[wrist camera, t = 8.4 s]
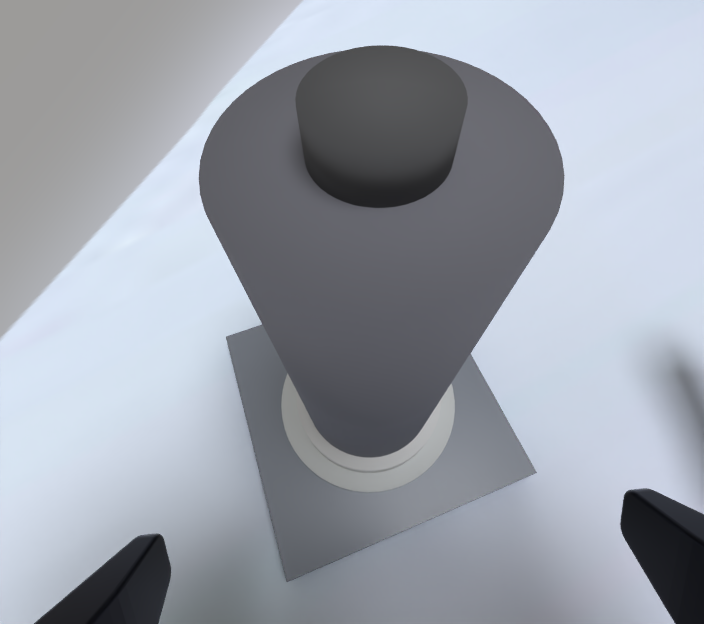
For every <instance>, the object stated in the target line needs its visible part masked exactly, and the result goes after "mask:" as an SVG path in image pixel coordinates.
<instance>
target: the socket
mask: <svg viewBox="0 0 704 624" xmlns="http://www.w3.org/2000/svg"><path fill="white" fill-rule="evenodd" d="M226 339H227V343H228V347H229V351H230V355H231V359H232V363H233V367H234V372H235V376H236V380H237V384H238V388H239V392H240V396H241V400H242V404H243V408H244V412H245V416H246V420H247V424H248V428H249V432H250V436H251V440H252V444H253V448H254V452H255V456H256V460H257V464H258V468H259V472H260V476H261V480H262V484H263V488H264V492H265V496H266V500H267V504H268V508H269V512H270V516H271V520H272V524H273V528H274V532H275V536H276V540H277V544H278V548H279V552H280V556H281V560H282V564H283V568H284V572H285V576H286V580H287V582H289V581H291V580H293V579H295V578H298V577H300V576H302V575H305V574H307V573H309V572H311V571H314V570H316V569H318V568H321V567H323V566H325V565H327V564H330V563H332V562H334V561H336V560H339V559H341V558H343V557H346V556H348V555H350V554H352V553H355V552H357V551H359V550H362V549H364V548H366V547H368V546H371V545H373V544H375V543H378V542H380V541H382V540H384V539H387V538H389V537H391V536H393V535H396V534H398V533H400V532H403V531H405V530H407V529H409V528H412V527H414V526H416V525H419V524H421V523H423V522H425V521H428V520H430V519H432V518H435V517H437V516H439V515H441V514H444V513H446V512H448V511H450V510H453V509H455V508H457V507H460V506H462V505H464V504H466V503H469V502H471V501H473V500H476V499H478V498H480V497H482V496H485V495H487V494H489V493H492V492H494V491H496V490H498V489H501V488H503V487H505V486H507V485H510V484H512V483H514V482H517V481H519V480H521V479H523V478H526V477H528V476H530V475H533V474H535V473H537V472H536V471H535V469H534V467H533V465H532V463H531V462H530V460H529V458H528V456H527V454H526V453H525V451H524V449H523V447H522V445H521V444H520V442H519V440H518V438H517V436H516V435H515V433H514V431H513V429H512V427H511V426H510V424H509V422H508V420H507V418H506V417H505V415H504V413H503V411H502V409H501V408H500V406H499V404H498V402H497V400H496V399H495V397H494V395H493V393H492V391H491V390H490V388H489V386H488V384H487V382H486V381H485V379H484V377H483V375H482V373H481V372H480V370H479V368H478V366H477V364H476V363H475V361H474V359H473V357H472V355H471V354H470V355H469V356H468V358H467V359H466V361H465V363H464V364H463V366H462V367H461V369H460V370H459V372H458V373H457V375H456V377H455V378H454V380H453V381H452V383H451V384H450V386H449V387H448V389H447V391H446V392H445V394H444V395H443V397H442V398H441V409H440V414H439V418H438V421H437V424H436V427H435V429H434V431H433V433H432V435H431V436H430V438H429V439H428V441H427V442H426V443H425V445H424V446H423V447H422V448H421V449H420V450H419V452H418V453H417V454H416V455H415V456H413V457H412V458H411V459H410V460H409V461H407V462H405V463H404V464H402V465H400V466H398V467H396V468H394V469H391V470H387V471H384V472H377V473H361V472H355V471H351V470H348V469H345V468H343V467H340V466H338V465H336V464H335V463H333V462H331V461H330V460H328V459H327V458H326V457H325V456H324V455H323V454H321V453H320V452H319V450H318V449H317V448H316V447H315V446H314V444H313V443H312V441H311V440H310V438H309V437H308V435H307V434H306V432H305V430H304V428H303V426H302V424H301V420H300V417H299V414H298V408H297V390H296V388H295V387H294V385H293V383H292V381H291V379H290V377H289V375H288V373H287V371H286V369H285V367H284V365H283V363H282V361H281V359H280V357H279V355H278V353H277V351H276V350H275V348H274V346H273V344H272V342H271V340H270V338H269V336H268V334H267V332H266V330H265V328H264V326H263V325H260V326H257V327H254V328H251V329H248V330H245V331H242V332H239V333H236V334H233V335H230V336H227V337H226Z"/></svg>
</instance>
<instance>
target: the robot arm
mask: <svg viewBox="0 0 704 624" xmlns="http://www.w3.org/2000/svg"><path fill="white" fill-rule="evenodd" d="M620 525H621V531H622V534H623V536H624V538H625V540H626V542H627V543H628V545H629V547H630V549H631V550H632V552H633V554H634V555H635V557H636V559H637V560H638V562H639V564H640V565H641V567H642V569H643V570H644V572H645V574H646V576H647V577H648V579H649V581H650V582H651V584H652V586H653V587H654V589H655V591H656V592H657V594H658V596H659V597H660V599H661V601H662V602H663V604H664V606H665V608H666V609H667V611H668V612H669V614H670V616H671V617H672V619H673V620H674V622H675V624H704V514H702V513H700V512H697V511H695V510H693V509H691V508H689V507H687V506H685V505H683V504H681V503H679V502H677V501H675V500H672V499H670V498H668V497H666V496H664V495H662V494H660V493H658V492H656V491H654V490H651V489H634V490H628V491H627V492H626V493H625V495H624V500H623V507H622V515H621V523H620ZM170 577H171V566H170V562H169V558H168V554H167V550H166V546H165V542H164V539H163V537H162V535H160V534H148V535H140V536H138V537H136V538H135V539H133V540H132V541H131V542H130V543H129V544H128V545H126V546H125V547H124V548H123V549H122V550H120V551H119V552H118V553H117V554H116V555H115V556H113V557H112V558H111V559H110V560H109V561H107V562H106V563H105V564H104V565H103V566H102V567H100V568H99V569H98V570H97V571H96V572H94V573H93V574H92V575H91V576H90V577H89V578H87V579H86V580H85V581H84V582H83V583H81V584H80V585H79V586H78V587H77V588H76V589H74V590H73V591H72V592H71V593H70V594H68V595H67V596H66V597H65V598H64V599H63V600H61V601H60V602H59V603H58V604H57V605H55V606H54V607H53V608H52V609H51V610H50V611H48V612H47V613H46V614H45V615H44V616H42V617H41V618H40V619H39V620H38V621H37V622H35V623H34V624H158V622H159V619H160V615H161V611H162V608H163V604H164V600H165V597H166V593H167V589H168V586H169V582H170Z"/></svg>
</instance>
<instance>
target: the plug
mask: <svg viewBox="0 0 704 624" xmlns="http://www.w3.org/2000/svg"><path fill="white" fill-rule="evenodd" d="M199 185H200V195H201V199H202V202H203V206H204V209H205V213H206V215H207V217H208V219H209V221H210V223H211V225H212V227H213V229H214V231H215V233H216V235H217V237H218V239H219V240H220V242H221V244H222V246H223V248H224V250H225V252H226V254H227V256H228V258H229V260H230V262H231V264H232V266H233V268H234V270H235V272H236V274H237V276H238V277H239V279H240V281H241V283H242V285H243V287H244V289H245V291H246V293H247V295H248V297H249V299H250V301H251V303H252V305H253V307H254V309H255V311H256V313H257V314H258V316H259V318H260V320H261V322H262V324H263V326H264V328H265V330H266V332H267V334H268V336H269V338H270V340H271V342H272V344H273V346H274V348H275V350H276V351H277V353H278V355H279V357H280V359H281V361H282V363H283V365H284V367H285V369H286V371H287V373H288V375H289V377H290V379H291V381H292V383H293V385H294V387H295V388H296V390H297V408H298V414H299V417H300V420H301V424H302V426H303V428H304V430H305V432H306V434H307V435H308V437H309V438H310V440H311V441H312V443H313V444H314V446H315V447H316V448H317V449H318V450H319V452H320V453H321V454H323V455H324V456H325V457H326V458H327V459H328V460H330V461H331V462H333V463H335V464H336V465H338V466H340V467H343V468H345V469H348V470H351V471H355V472H361V473H377V472H384V471H387V470H391V469H394V468H396V467H398V466H400V465H402V464H404V463H405V462H407V461H409V460H410V459H411V458H412V457H413V456H415V455H416V454H417V453H418V452H419V450H420V449H421V448H422V447H423V446H424V445H425V443H426V442H427V441H428V439H429V438H430V436H431V435H432V433H433V431H434V429H435V427H436V424H437V421H438V418H439V414H440V409H441V398H442V397H443V395H444V394H445V392H446V391H447V389H448V387H449V386H450V384H451V383H452V381H453V380H454V378H455V377H456V375H457V373H458V372H459V370H460V369H461V367H462V366H463V364H464V363H465V361H466V359H467V358H468V356H469V355H470V353H471V352H472V350H473V349H474V347H475V345H476V344H477V342H478V341H479V339H480V338H481V336H482V335H483V333H484V331H485V330H486V328H487V327H488V325H489V324H490V322H491V321H492V319H493V317H494V316H495V314H496V313H497V311H498V310H499V308H500V307H501V305H502V303H503V302H504V300H505V299H506V297H507V296H508V294H509V293H510V291H511V289H512V288H513V286H514V285H515V283H516V282H517V280H518V279H519V277H520V275H521V274H522V272H523V271H524V269H525V268H526V266H527V265H528V263H529V261H530V260H531V258H532V257H533V255H534V254H535V252H536V251H537V249H538V247H539V246H540V244H541V243H542V241H543V240H544V238H545V237H546V235H547V233H548V232H549V230H550V228H551V226H552V224H553V222H554V220H555V218H556V216H557V214H558V212H559V208H560V204H561V200H562V196H563V189H564V169H563V162H562V157H561V153H560V150H559V147H558V144H557V141H556V139H555V137H554V135H553V133H552V132H551V130H550V128H549V126H548V125H547V123H546V122H545V120H544V119H543V118H542V116H541V115H540V113H539V112H538V111H537V110H536V109H535V108H534V107H533V106H532V105H531V104H530V103H529V102H528V101H527V99H525V98H524V97H523V96H522V95H521V94H519V93H518V92H517V91H516V90H514V89H513V88H512V87H510V86H509V85H507V84H506V83H504V82H503V81H501V80H500V79H498V78H497V77H495V76H493V75H491V74H489V73H487V72H485V71H483V70H481V69H479V68H477V67H474V66H472V65H469V64H467V63H464V62H462V61H458V60H455V59H452V58H449V57H445V56H441V55H437V54H432V53H428V52H422V51H417V50H414V49H409V48H405V47H398V46H366V47H359V48H354V49H350V50H346V51H340V52H334V53H328V54H324V55H320V56H316V57H313V58H309V59H306V60H303V61H300V62H297V63H295V64H292V65H290V66H287V67H285V68H283V69H281V70H278V71H276V72H274V73H273V74H271V75H269V76H267V77H265V78H264V79H262V80H260V81H259V82H257V83H256V84H254V85H253V86H252V87H250V88H249V89H247V90H246V91H245V92H244V93H243V94H241V95H240V96H239V97H238V98H237V99H236V100H235V101H233V102H232V104H231V105H230V106H229V107H228V108H227V109H226V110H225V111H224V113H223V114H222V115H221V116H220V118H219V119H218V121H217V122H216V124H215V125H214V127H213V128H212V130H211V132H210V134H209V137H208V139H207V141H206V143H205V146H204V149H203V153H202V156H201V160H200V170H199Z"/></svg>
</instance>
